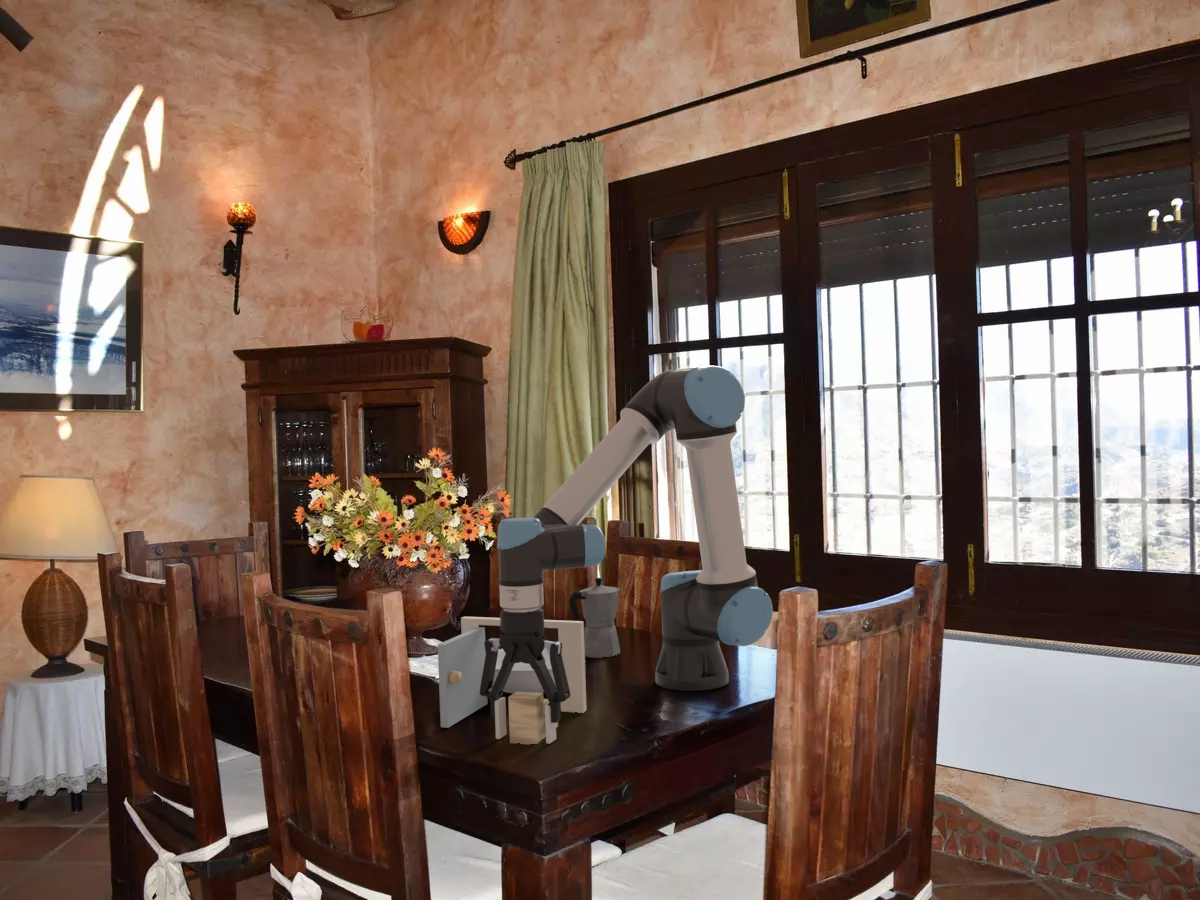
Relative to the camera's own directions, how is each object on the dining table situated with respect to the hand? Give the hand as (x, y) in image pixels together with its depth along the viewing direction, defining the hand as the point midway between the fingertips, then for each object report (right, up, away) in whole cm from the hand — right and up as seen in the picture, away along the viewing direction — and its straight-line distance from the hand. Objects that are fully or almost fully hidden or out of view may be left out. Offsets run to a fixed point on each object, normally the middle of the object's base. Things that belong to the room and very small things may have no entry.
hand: (525, 738), depth 168 cm
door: (-12, 0, +15) cm, 19 cm away
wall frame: (-2, 0, +20) cm, 20 cm away
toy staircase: (+1, 0, +3) cm, 3 cm away
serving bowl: (-2, 0, +33) cm, 33 cm away
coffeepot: (+12, +1, +62) cm, 63 cm away
